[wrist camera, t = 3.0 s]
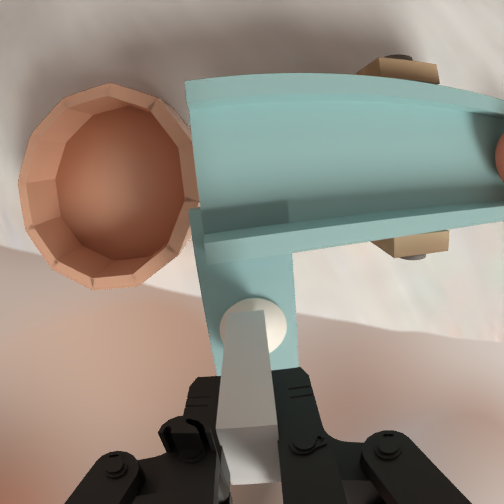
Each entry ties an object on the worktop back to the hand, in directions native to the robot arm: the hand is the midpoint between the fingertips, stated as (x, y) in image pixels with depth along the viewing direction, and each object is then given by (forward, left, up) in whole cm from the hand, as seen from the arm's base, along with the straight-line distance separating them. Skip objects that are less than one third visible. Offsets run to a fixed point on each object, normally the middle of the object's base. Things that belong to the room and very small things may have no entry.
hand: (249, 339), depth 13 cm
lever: (-4, +8, -3) cm, 9 cm away
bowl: (-7, -8, -10) cm, 15 cm away
